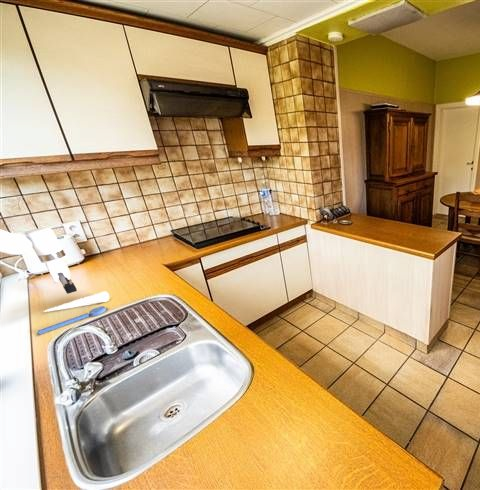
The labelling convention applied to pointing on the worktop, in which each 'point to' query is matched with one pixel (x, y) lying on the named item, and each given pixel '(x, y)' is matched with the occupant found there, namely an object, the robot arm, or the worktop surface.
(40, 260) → the robot arm
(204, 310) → the worktop surface
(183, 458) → the worktop surface
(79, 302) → the unicorn horn
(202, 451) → the worktop surface
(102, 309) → the blue spoon
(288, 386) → the worktop surface
